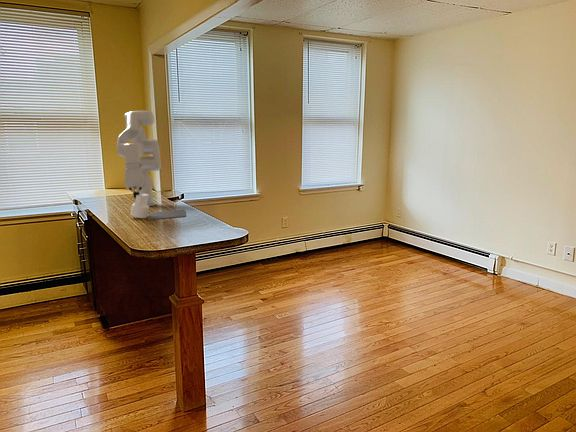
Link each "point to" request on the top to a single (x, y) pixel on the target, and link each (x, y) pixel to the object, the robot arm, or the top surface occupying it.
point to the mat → (166, 214)
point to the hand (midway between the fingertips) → (136, 199)
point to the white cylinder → (140, 206)
